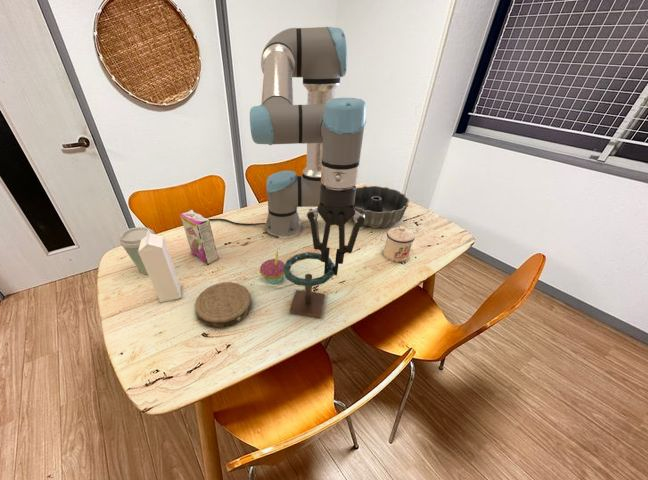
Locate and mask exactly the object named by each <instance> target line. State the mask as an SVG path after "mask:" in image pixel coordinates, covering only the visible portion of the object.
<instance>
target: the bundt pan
mask: <svg viewBox="0 0 648 480" xmlns="http://www.w3.org/2000/svg"><path fill="white" fill-rule="evenodd" d="M409 203H410V199H409V198H408V197H407V195H406V194H404V193H402V192H400V191H399V190H397V189H393V188H389V187H387V186H386V187H385V186H384V187H382V186H379V185H370V186H367V185H364V186H362V187H356V195H355V202H354V206H355V208H356V211H357V212H359V213H360V214H361V213H364V214H365V222H364V223H363V224H362V225H361V226H362V227H365V228H367V227H370V228H372V229H378V228H381V229H385V228H386V227H392V226H394V225H395V224H396V223H398V222H400V221H401V220H402V219H403V217H404V214H405V212H406V210H407V208H408V207H409ZM350 221H354V216H353V217H352V218H351V219H350Z"/></svg>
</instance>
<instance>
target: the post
mask: <svg viewBox="0 0 648 480" xmlns="http://www.w3.org/2000/svg"><path fill="white" fill-rule="evenodd" d="M304 279H313V275H312V273H306V274H305V275H304ZM325 298H326V293H322V292H315V291H313V286H311V287H309V286H304V290H300V289H296V290H295V292H294V296H293V300H292V302H291V305H290V309H289V314H290V315H296V316H302V317H303V316H304V317H310V318H316V319H322V314H323V309H324V304H325Z"/></svg>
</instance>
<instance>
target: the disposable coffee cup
mask: <svg viewBox="0 0 648 480" xmlns="http://www.w3.org/2000/svg"><path fill="white" fill-rule="evenodd" d="M148 229H149V231H150V233H152V234H155V235H156V233H155V232H154V230H153V229H151V228H149V227H146V226H136V227H129V228H127V229H125V230H123V231H122V232H120V233H119V234H118V235H119V239H118V241H119V245H120V246H121V247H122V248H123V249H124V250H125V253H126V254H127V255H128V257H129V258H130V259H131V261H132V262H133V263H134V266H136V268H137V269H138V271H139V272H141V273H142V274H144V275H148V273H147V271H146V269H145V266H144V264H143V262H142V260H141V257H140V255H139V253H138V250H139V246H140V242H141V240H142V239H143V238H144V237H146V235H147V231H148Z"/></svg>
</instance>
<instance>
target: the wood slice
mask: <svg viewBox="0 0 648 480" xmlns="http://www.w3.org/2000/svg"><path fill="white" fill-rule="evenodd" d="M194 310H195V313H196V316H197V319H198V320H199V322H200V323H201V324H202V325H204V326H206V327H207V328H212V329H227V328H230V327H234V326H236V325H237V324H239V323H241V322H243V321H244V319H246V318H247V317H248V316H249V314H250V312H251V310H252V297H251V294H250V291H249V290H248V288H246V286H244V285H243V284H240V283H238V282H232V281H229V282H228V281H227V282H226V281H225V282H224V281H223V282H218V283H216V284H213V285H210V286H209V287H206V288H205V289H204V290H203V291H201V292H200V293H199V295H198V296H197V297H196V299H195V302H194Z"/></svg>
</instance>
